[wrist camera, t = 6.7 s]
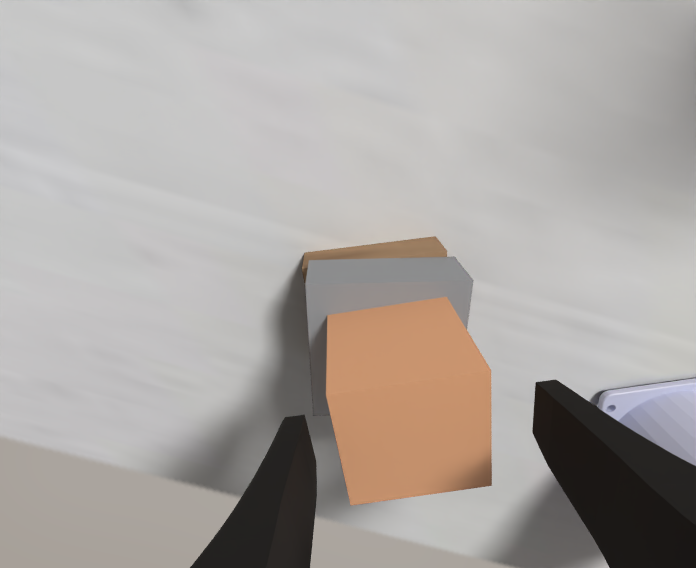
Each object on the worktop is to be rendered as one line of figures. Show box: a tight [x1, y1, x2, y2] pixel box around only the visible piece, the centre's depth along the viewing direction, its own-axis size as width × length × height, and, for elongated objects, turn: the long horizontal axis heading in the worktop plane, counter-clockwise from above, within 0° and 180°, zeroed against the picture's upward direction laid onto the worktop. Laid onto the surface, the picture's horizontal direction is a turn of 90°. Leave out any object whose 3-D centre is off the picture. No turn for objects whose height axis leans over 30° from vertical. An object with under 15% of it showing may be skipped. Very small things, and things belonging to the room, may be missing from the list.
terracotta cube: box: [326, 297, 492, 505], centre depth 13 cm, size 4×4×4 cm
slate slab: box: [305, 257, 473, 416], centre depth 16 cm, size 6×6×2 cm
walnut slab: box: [302, 236, 447, 289], centre depth 19 cm, size 6×6×2 cm
